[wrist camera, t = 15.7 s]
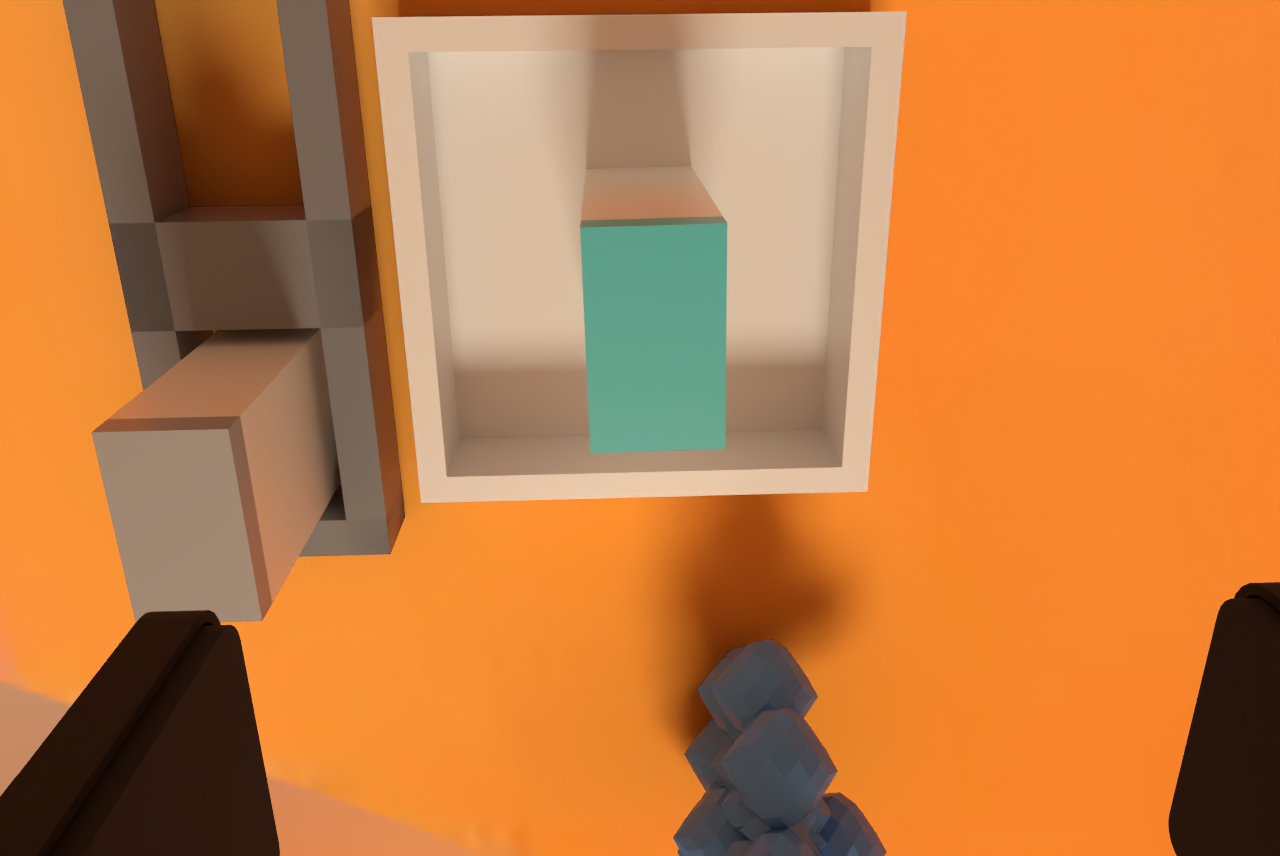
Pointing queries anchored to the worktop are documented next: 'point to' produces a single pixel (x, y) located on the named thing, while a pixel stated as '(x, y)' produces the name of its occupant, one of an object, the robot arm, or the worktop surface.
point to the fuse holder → (253, 238)
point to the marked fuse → (653, 310)
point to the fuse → (221, 473)
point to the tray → (551, 245)
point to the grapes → (766, 767)
